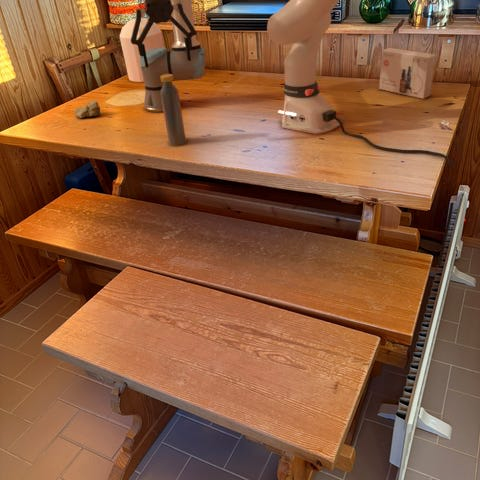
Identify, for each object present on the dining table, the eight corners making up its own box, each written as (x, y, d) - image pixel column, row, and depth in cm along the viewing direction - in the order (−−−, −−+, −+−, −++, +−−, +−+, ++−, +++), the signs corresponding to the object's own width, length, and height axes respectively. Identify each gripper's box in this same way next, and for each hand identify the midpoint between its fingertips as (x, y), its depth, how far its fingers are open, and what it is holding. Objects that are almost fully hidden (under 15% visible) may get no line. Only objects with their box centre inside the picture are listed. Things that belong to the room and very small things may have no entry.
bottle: (169, 146, 163) (157, 80, 150) (169, 140, 168) (158, 75, 155) (186, 144, 163) (175, 78, 150) (186, 138, 168) (176, 73, 155)
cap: (160, 82, 151) (160, 78, 151) (161, 79, 155) (160, 74, 154) (173, 81, 152) (172, 76, 151) (173, 78, 155) (172, 73, 154)
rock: (77, 116, 202) (75, 120, 193) (73, 101, 199) (71, 104, 190) (102, 112, 204) (101, 116, 195) (98, 97, 201) (98, 100, 192)
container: (160, 81, 233) (149, 21, 217) (121, 82, 238) (108, 23, 222) (174, 69, 249) (165, 13, 233) (138, 70, 254) (126, 15, 238)
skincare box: (377, 89, 194) (381, 50, 185) (385, 86, 197) (389, 47, 188) (423, 99, 180) (429, 56, 171) (430, 95, 183) (437, 53, 174)
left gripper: (113, -6, 129) (130, 72, 141) (199, -17, 134) (208, 59, 146) (111, -8, 135) (127, 66, 147) (194, -19, 140) (203, 54, 152)
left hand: (168, 63), depth 147 cm, fingers open, 13 cm apart
